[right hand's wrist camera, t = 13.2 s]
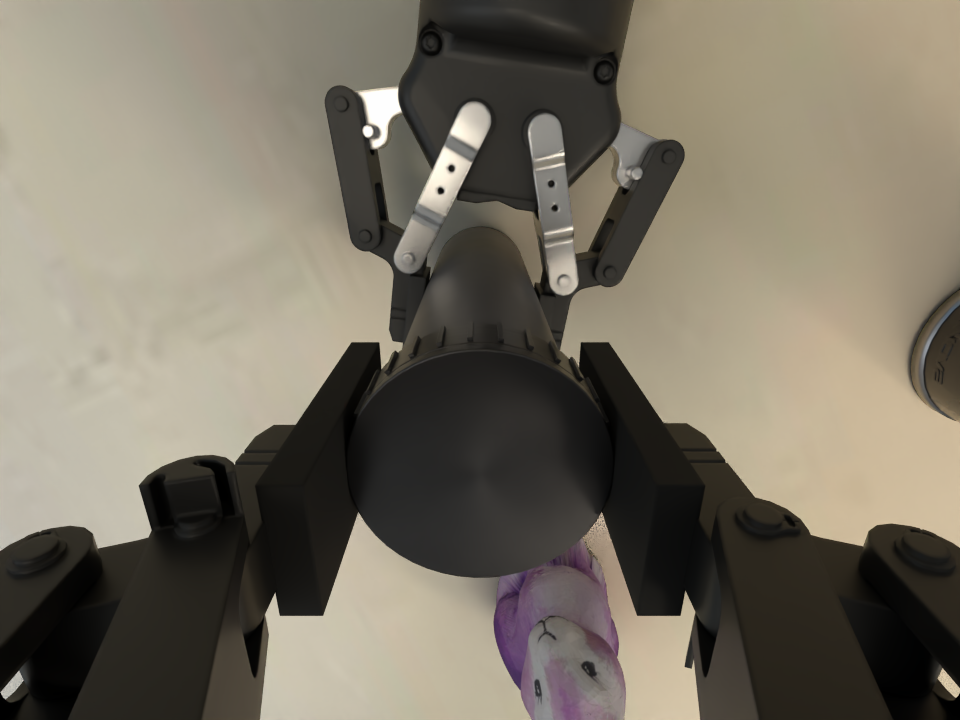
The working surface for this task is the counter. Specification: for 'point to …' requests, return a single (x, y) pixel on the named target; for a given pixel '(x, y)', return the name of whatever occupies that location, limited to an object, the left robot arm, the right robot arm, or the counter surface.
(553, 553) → the lid
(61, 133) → the counter surface
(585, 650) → the figurine
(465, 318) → the dark grey cylinder
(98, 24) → the counter surface
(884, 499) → the counter surface
